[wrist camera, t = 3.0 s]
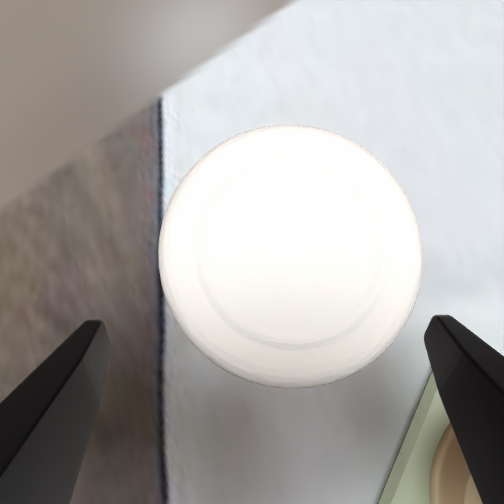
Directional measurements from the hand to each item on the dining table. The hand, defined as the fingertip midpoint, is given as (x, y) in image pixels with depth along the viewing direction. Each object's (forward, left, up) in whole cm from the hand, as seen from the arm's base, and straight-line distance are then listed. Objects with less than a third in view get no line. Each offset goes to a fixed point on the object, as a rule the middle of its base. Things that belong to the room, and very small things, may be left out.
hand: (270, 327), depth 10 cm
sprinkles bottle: (+1, +1, -9) cm, 9 cm away
